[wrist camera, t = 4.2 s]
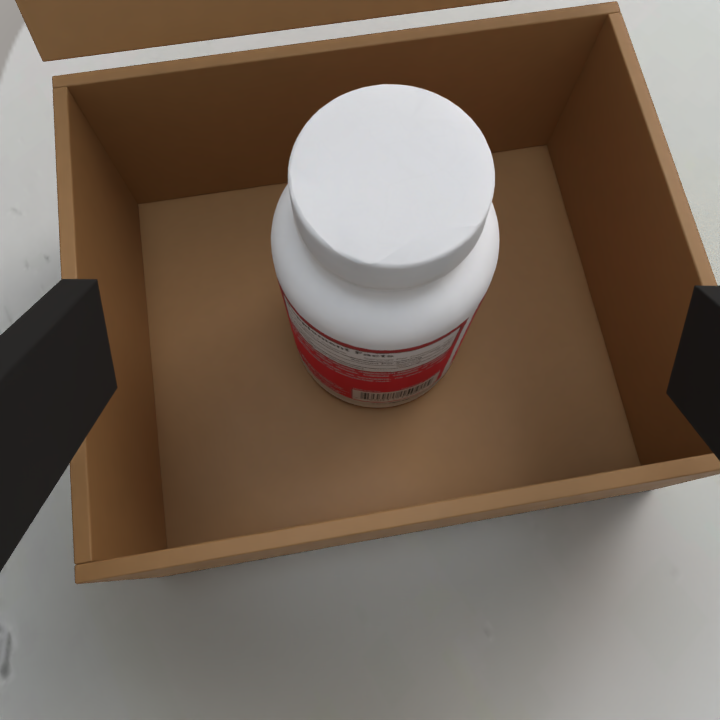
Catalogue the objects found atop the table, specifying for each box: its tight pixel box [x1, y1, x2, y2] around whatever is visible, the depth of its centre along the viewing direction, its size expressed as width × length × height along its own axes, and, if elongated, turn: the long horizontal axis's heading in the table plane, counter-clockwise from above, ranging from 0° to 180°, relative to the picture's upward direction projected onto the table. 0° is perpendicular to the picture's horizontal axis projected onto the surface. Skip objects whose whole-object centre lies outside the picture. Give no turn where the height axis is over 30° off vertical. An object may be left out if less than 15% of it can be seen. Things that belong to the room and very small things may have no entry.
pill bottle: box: [271, 84, 499, 408], centre depth 20 cm, size 6×6×11 cm
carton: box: [52, 1, 720, 584], centre depth 22 cm, size 18×15×7 cm
